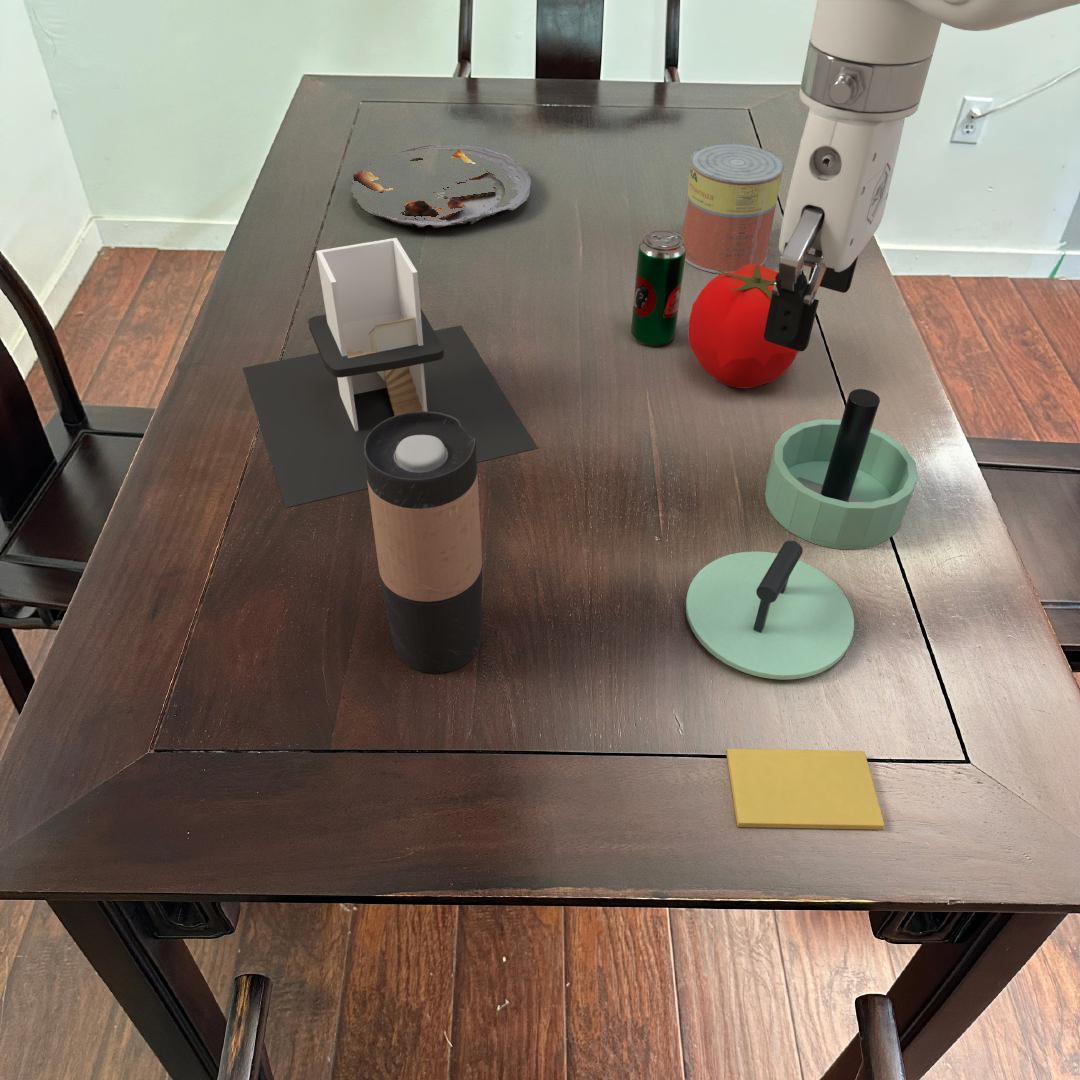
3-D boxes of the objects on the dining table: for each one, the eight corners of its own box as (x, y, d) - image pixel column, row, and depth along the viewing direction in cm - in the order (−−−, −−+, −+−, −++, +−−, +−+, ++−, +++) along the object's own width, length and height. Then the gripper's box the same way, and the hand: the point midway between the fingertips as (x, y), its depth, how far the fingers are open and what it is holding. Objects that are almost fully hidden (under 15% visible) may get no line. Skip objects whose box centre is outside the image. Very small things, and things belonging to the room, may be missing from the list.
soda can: (669, 351, 109) (682, 253, 100) (626, 344, 110) (635, 245, 101) (678, 329, 112) (691, 231, 104) (636, 321, 113) (645, 224, 105)
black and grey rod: (885, 489, 91) (920, 389, 83) (861, 537, 86) (896, 435, 78) (808, 463, 94) (835, 363, 86) (780, 507, 89) (806, 406, 81)
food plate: (393, 252, 124) (390, 226, 122) (327, 184, 139) (323, 159, 136) (559, 211, 134) (560, 186, 131) (481, 151, 148) (480, 127, 146)
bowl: (917, 487, 92) (933, 446, 89) (879, 569, 84) (894, 527, 81) (792, 444, 97) (802, 403, 93) (744, 517, 89) (753, 476, 85)
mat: (862, 755, 70) (864, 750, 70) (882, 830, 66) (885, 825, 66) (726, 752, 70) (727, 748, 70) (737, 827, 66) (738, 822, 66)
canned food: (697, 225, 131) (710, 136, 123) (778, 245, 127) (796, 154, 119) (666, 261, 124) (676, 168, 115) (749, 282, 120) (767, 189, 112)
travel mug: (376, 667, 76) (344, 471, 62) (407, 597, 81) (383, 402, 67) (470, 684, 75) (459, 489, 61) (495, 612, 80) (490, 418, 66)
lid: (871, 598, 82) (892, 543, 77) (819, 711, 73) (838, 656, 69) (722, 540, 87) (734, 485, 82) (657, 639, 78) (665, 584, 74)
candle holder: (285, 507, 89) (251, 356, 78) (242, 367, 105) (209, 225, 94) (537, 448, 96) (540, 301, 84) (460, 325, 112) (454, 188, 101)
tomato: (673, 394, 103) (686, 297, 95) (692, 329, 112) (706, 236, 104) (789, 413, 100) (812, 316, 92) (799, 346, 110) (821, 252, 102)
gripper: (882, 134, 54) (817, 386, 66) (956, 50, 65) (888, 279, 77) (757, 107, 57) (716, 353, 69) (848, 30, 68) (799, 255, 80)
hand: (807, 314), depth 73 cm, fingers open, 9 cm apart
